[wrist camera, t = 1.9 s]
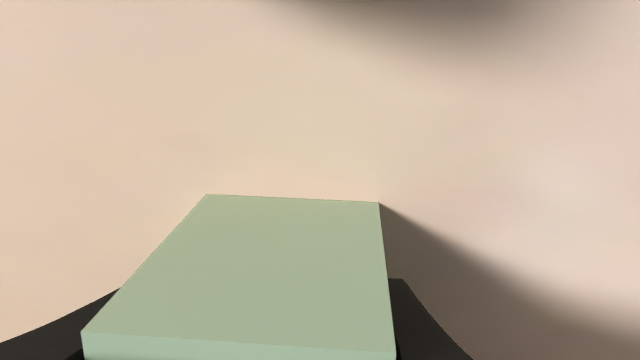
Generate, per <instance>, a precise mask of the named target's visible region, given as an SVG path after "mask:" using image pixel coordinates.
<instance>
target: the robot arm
mask: <svg viewBox="0 0 640 360" xmlns="http://www.w3.org/2000/svg"><path fill="white" fill-rule="evenodd" d="M387 279H388V287H389V296H390V304H391V312H392V321H393V329H394V338H395V346H396V360H473V359H472V358H471V357H470V356H469V355H468V354H466V353H465V352H464V351H463V350H462V349H461V348H460V347H459V346H458V345H457V344H456V343H455V342H454V341H453V340H452V339H451V338H450V337H449V336H448V335H447V334H446V332H445V331H444V330H443V329H442V328H441V327H440V326H439V324H438V323H437V322H436V321H435V320H434V319H433V317H432V316H431V315H430V314H429V313H428V311H427V310H426V309H425V308H424V306H423V305H422V304H421V303H420V301H419V300H418V299H417V297H416V296H415V295H414V293H413V292H412V290H411V289H410V288H409V286H408V285H407V284H406V282H405V281H404V280H403V279H390V278H387ZM119 289H120V288H119ZM119 289H117V290H115V291H113V292H111V293H109V294H108V295H106V296H104V297H102V298H100V299H98V300H96V301H94V302H92V303H90V304H88V305H86V306H84V307H82V308H80V309H78V310H76V311H74V312H72V313H70V314H68V315H66V316H64V317H62V318H60V319H57V320H55V321H53V322H51V323H49V324H46V325H44V326H42V327H39V328H37V329H35V330H32V331H30V332H27V333H25V334H22V335H20V336H17V337H15V338H12V339H10V340H7V341H4V342H2V343H0V360H85V358H84V352H83V345H82V338H81V331H82V330H83V328H84V327H85V326H86V325H87V324H88V323H89V322H90V321H91V320H92V319H93V318H94V316H95V315H96V314H97V313H98V312H99V311H100V310H101V309H102V308H103V307H104V306H105V304H106V303H107V302H108V301H109V300H110V299H111V298H112V297H113V296H114V295H115V293H116V292H117V291H118V290H119Z"/></svg>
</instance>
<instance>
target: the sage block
mask: <svg viewBox="0 0 640 360" xmlns="http://www.w3.org/2000/svg"><path fill="white" fill-rule="evenodd" d="M81 338H82V345H83V352H84V358H85V360H396V346H395V338H394V329H393V321H392V312H391V304H390V296H389V287H388V279H387V270H386V262H385V253H384V245H383V236H382V228H381V220H380V211H379V203H378V202H361V201H340V200H320V199H299V198H278V197H257V196H236V195H215V194H206V195H205V196H204V197H203V198H202V199H201V201H200V202H199V203H198V204H197V205H196V206H195V207H194V208H193V209H192V210H191V212H190V213H189V214H188V215H187V216H186V217H185V218H184V219H183V220H182V221H181V222H180V224H179V225H178V226H177V227H176V228H175V229H174V230H173V231H172V232H171V233H170V234H169V236H168V237H167V238H166V239H165V240H164V241H163V242H162V243H161V244H160V245H159V246H158V248H157V249H156V250H155V251H154V252H153V253H152V254H151V255H150V256H149V257H148V259H147V260H146V261H145V262H144V263H143V264H142V265H141V266H140V267H139V268H138V269H137V271H136V272H135V273H134V274H133V275H132V276H131V277H130V278H129V279H128V280H127V281H126V283H125V284H124V285H123V286H122V287H121V288H120V289H119V290H118V291H117V292H116V293H115V295H114V296H113V297H112V298H111V299H110V300H109V301H108V302H107V303H106V304H105V306H104V307H103V308H102V309H101V310H100V311H99V312H98V313H97V314H96V315H95V316H94V318H93V319H92V320H91V321H90V322H89V323H88V324H87V325H86V326H85V327H84V328H83V330H82V331H81Z"/></svg>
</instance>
